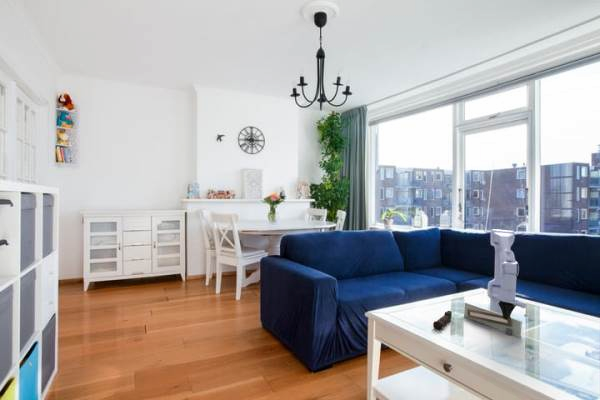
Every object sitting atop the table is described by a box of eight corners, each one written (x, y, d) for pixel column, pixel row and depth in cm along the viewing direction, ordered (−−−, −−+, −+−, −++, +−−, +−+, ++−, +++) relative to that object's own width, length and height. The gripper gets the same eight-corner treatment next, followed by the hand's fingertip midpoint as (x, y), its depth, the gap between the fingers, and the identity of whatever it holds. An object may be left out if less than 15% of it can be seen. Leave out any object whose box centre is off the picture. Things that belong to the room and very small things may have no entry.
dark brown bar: (441, 332, 147) (442, 321, 147) (432, 329, 150) (433, 318, 150) (456, 320, 161) (457, 311, 161) (447, 318, 164) (448, 309, 164)
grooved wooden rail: (469, 316, 163) (468, 308, 164) (511, 326, 146) (511, 316, 147) (467, 317, 163) (467, 308, 163) (510, 326, 146) (509, 317, 146)
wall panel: (465, 315, 167) (466, 302, 167) (520, 336, 145) (521, 320, 145) (460, 316, 166) (461, 303, 165) (516, 338, 143) (517, 322, 143)
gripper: (486, 285, 152) (484, 314, 152) (520, 294, 139) (519, 326, 139) (495, 283, 155) (493, 312, 156) (529, 292, 143) (527, 323, 143)
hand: (506, 319), depth 148 cm, fingers closed, pressing on grooved wooden rail
